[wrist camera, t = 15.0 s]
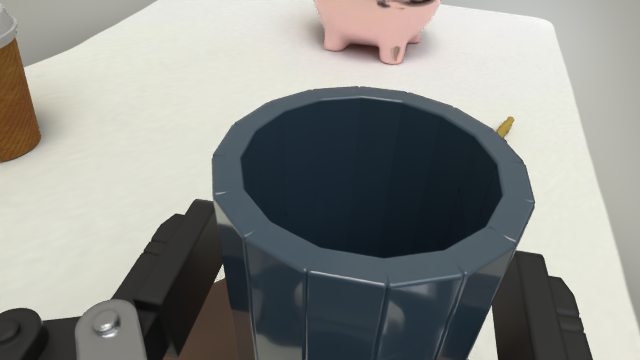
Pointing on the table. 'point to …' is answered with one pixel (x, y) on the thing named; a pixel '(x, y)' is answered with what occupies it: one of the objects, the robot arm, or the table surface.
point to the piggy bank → (375, 24)
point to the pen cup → (364, 225)
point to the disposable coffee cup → (14, 96)
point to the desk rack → (211, 329)
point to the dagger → (505, 127)
